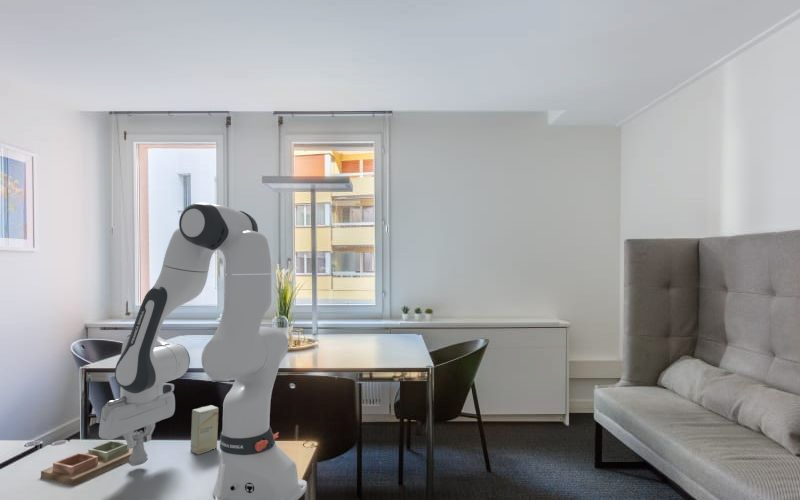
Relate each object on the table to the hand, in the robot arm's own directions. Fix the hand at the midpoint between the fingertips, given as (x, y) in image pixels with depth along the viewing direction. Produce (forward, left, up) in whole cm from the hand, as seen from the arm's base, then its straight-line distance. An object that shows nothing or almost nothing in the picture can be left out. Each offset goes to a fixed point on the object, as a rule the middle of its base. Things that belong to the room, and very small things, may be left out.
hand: (139, 444), depth 116 cm
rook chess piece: (0, 0, -5) cm, 5 cm away
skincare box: (-7, -16, -7) cm, 19 cm away
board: (+13, +3, -7) cm, 15 cm away
